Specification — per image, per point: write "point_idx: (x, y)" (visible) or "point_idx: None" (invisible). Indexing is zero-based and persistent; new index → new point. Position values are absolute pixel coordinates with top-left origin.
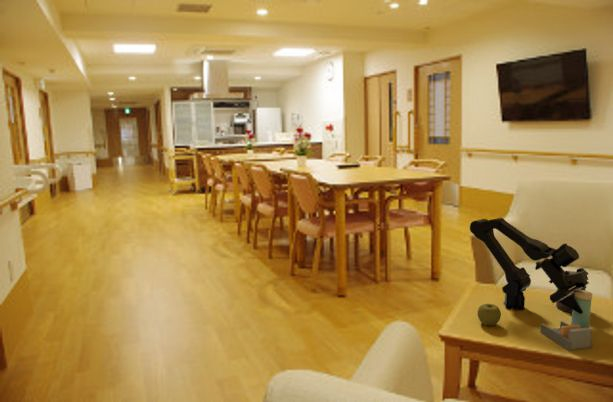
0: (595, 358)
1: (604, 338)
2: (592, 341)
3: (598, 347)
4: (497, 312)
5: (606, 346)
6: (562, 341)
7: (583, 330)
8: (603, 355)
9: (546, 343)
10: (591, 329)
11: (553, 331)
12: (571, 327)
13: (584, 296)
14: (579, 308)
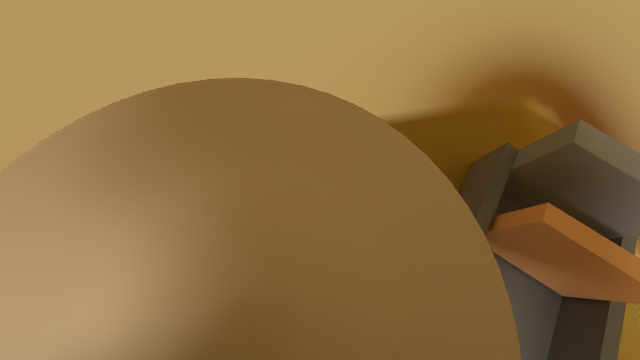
0: (547, 130)
1: None
2: (497, 149)
3: (448, 142)
4: None
5: (413, 120)
6: None
7: (637, 153)
8: (500, 114)
9: None
10: (579, 119)
11: (611, 356)
12: (610, 245)
13: (451, 209)
14: None
